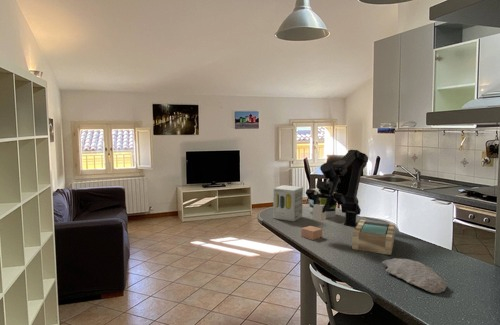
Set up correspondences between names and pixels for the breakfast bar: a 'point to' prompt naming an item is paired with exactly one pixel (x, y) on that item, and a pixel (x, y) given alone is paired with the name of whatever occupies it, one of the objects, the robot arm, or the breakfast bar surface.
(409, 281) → the stone
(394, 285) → the breakfast bar surface
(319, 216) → the stone pillar
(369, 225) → the trapdoor
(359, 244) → the trapdoor box
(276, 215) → the supplement box
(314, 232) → the plinth
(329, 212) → the tea box
